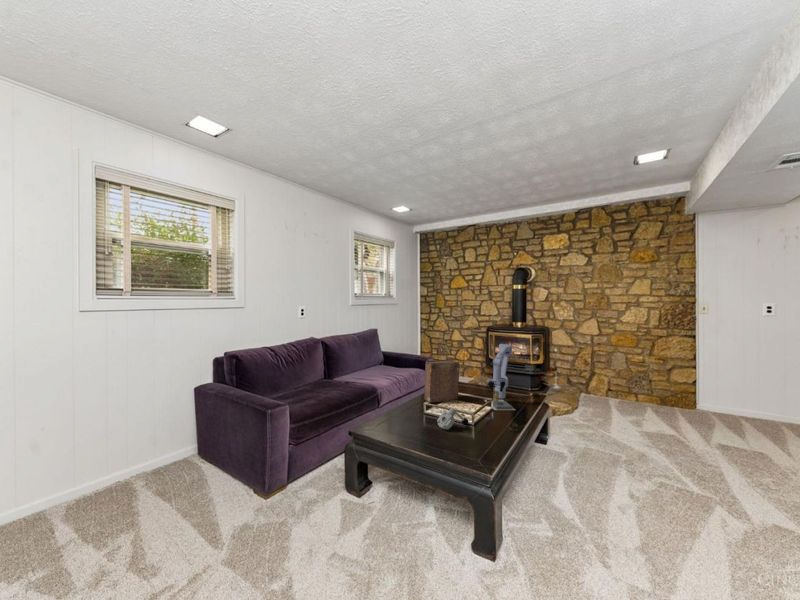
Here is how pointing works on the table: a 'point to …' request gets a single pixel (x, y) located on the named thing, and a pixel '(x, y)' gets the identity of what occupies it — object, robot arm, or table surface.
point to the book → (441, 381)
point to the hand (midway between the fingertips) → (496, 391)
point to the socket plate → (501, 405)
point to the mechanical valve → (449, 419)
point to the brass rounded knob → (496, 396)
